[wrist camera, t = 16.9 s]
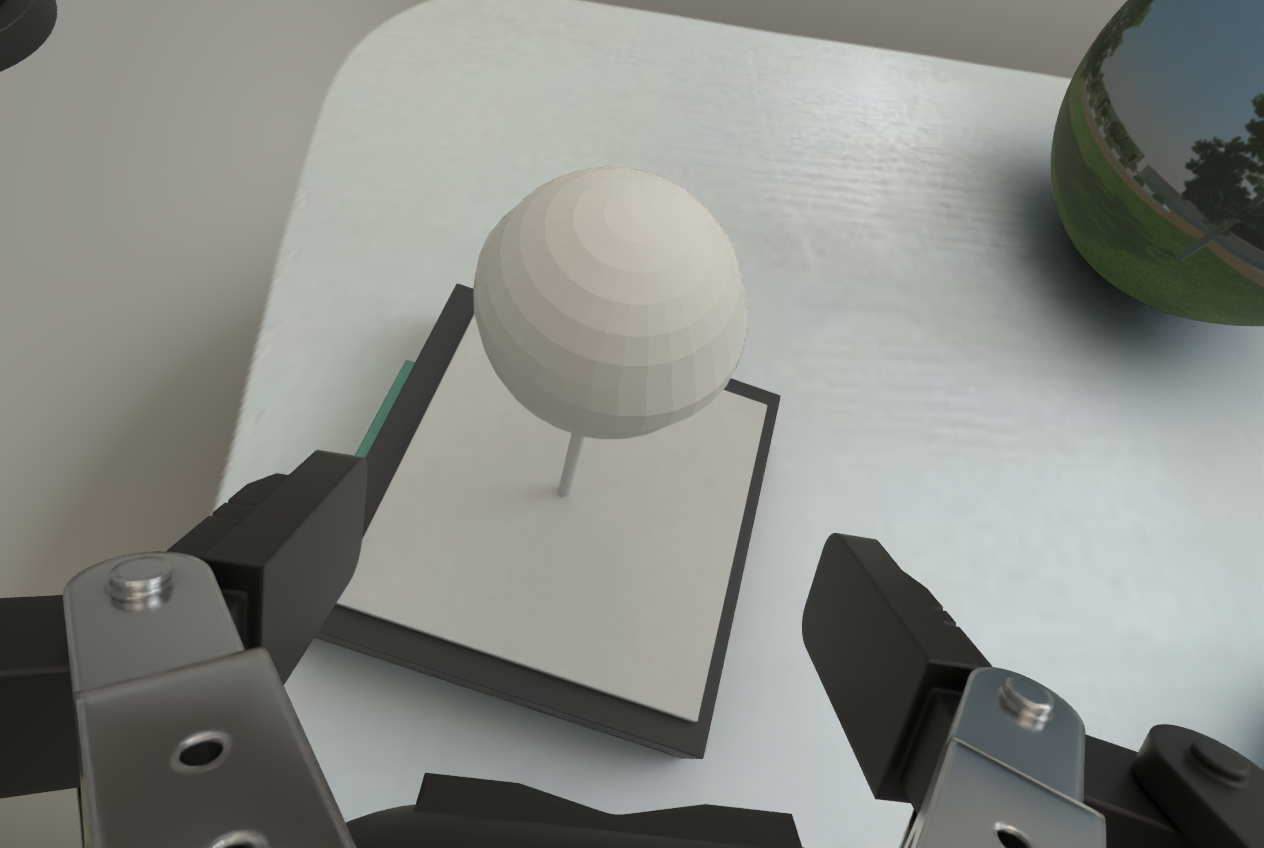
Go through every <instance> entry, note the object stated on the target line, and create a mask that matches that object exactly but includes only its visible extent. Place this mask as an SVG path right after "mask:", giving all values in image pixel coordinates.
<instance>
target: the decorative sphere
mask: <svg viewBox="0 0 1264 848" xmlns="http://www.w3.org/2000/svg"><path fill="white" fill-rule="evenodd" d="M1051 180H1052V188H1053V194H1054V199H1055V203H1056V207H1057V210H1058V213H1059V216H1060V219H1061V221H1062V224H1063V226H1064V228H1065V230H1066V232H1067V234H1068V236H1069V238H1070V239H1071V241H1072V243H1073V244H1074V246H1075V247H1076V249H1077V250H1078V252H1079V253H1080V254H1081V256H1082V257H1083V258H1084V259H1085V260H1086V262H1087V263H1088V264H1089V265H1090V266H1091V267H1092V268H1093V269H1094V270H1095V271H1096V272H1097V273H1098V274H1099V275H1101V276H1102V277H1103V278H1104V279H1105V280H1107V281H1108V282H1109V283H1110V284H1112V285H1113V286H1115V287H1116V288H1117V289H1119V290H1120V291H1122V292H1124V293H1125V294H1127V295H1129V296H1131V297H1132V298H1134V299H1136V300H1138V301H1140V302H1142V303H1144V304H1146V305H1149V306H1151V307H1154V308H1156V309H1159V310H1161V311H1164V312H1167V313H1170V314H1173V315H1177V316H1180V317H1184V318H1188V319H1193V320H1198V321H1203V322H1209V323H1216V324H1224V325H1237V326H1264V0H1128V1H1127V2H1126V3H1125V4H1124V5H1123V6H1122V7H1121V8H1120V9H1119V10H1118V12H1117V13H1116V14H1115V15H1114V16H1113V17H1112V18H1111V20H1110V21H1109V22H1108V23H1107V25H1106V26H1105V27H1104V28H1103V30H1102V31H1101V33H1100V34H1099V35H1098V37H1097V38H1096V39H1095V41H1094V42H1093V44H1092V45H1091V47H1090V48H1089V50H1088V51H1087V53H1086V55H1085V56H1084V58H1083V60H1082V61H1081V63H1080V65H1079V67H1078V68H1077V70H1076V72H1075V74H1074V77H1073V78H1072V80H1071V82H1070V85H1069V87H1068V89H1067V91H1066V94H1065V96H1064V99H1063V102H1062V105H1061V108H1060V111H1059V114H1058V118H1057V122H1056V126H1055V130H1054V136H1053V142H1052V151H1051Z"/></svg>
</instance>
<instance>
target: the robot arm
mask: <svg viewBox="0 0 1264 848" xmlns="http://www.w3.org/2000/svg"><path fill="white" fill-rule="evenodd" d="M3 2H4V0H0V5H1V4H2V3H3ZM366 485H367V461H366V459H365V458H364V457H359V456H353V455H346V454H340V453H334V452H327V451H321V450H317V451H315V452H314V453H313V454H312V455H310V456H309V457H308V458H307V459H306V460H305V461H304V462H303V463H302V464H300V465H299V466H298V467H297V468H296V469H295V470H294V471H293V472H292V473H291V474H289V475H285V474H278V473H276V474H273V475H271V476H268V477H265V478H263V479H260V480H257V481H255V482H252V483H249V484H247V485H246V486H244V487H243V488H242V489H241V490H240V491H238V492H237V493H236V494H235V495H234V496H232V497H231V498H230V499H229V501H228V503H224V504H223V505H221V506H220V507H219V508H218V509H217V510H215V511H214V512H213V515H212V516H208V517H207V518H206V519H205V520H204V521H202V522H201V523H200V524H198V525H197V526H196V527H195V528H194V529H192V530H191V531H190V532H189V533H188V534H186V535H185V536H184V537H183V538H181V539H180V540H179V541H178V542H177V543H175V544H174V545H173V546H172V547H171V548H170V549H168V550H167V551H166V552H160V551H157V552H141V553H134V554H128V555H122V556H118V557H115V558H111V559H108V560H105V561H102V562H99V563H97V564H95V565H92V566H90V567H88V568H86V569H85V570H83V571H81V572H80V573H78V574H77V575H76V576H74V577H73V578H72V579H71V580H70V581H69V582H68V583H67V585H66V586H65V588H64V592H63V595H56V596H37V597H17V598H16V597H15V598H0V798H7V797H14V796H21V795H27V794H35V793H42V792H49V791H56V790H63V789H70V788H77V800H78V810H79V820H80V830H81V841H82V848H803V847H802V845H801V842H800V839H799V836H798V832H797V829H796V826H795V823H794V820H793V816H792V814H788V813H779V812H770V811H761V810H752V809H743V808H734V807H726V806H717V805H708V804H704V805H696V806H688V807H680V808H672V809H664V810H656V811H648V812H640V813H632V814H624V815H615V814H609V813H605V812H602V811H599V810H596V809H593V808H590V807H587V806H584V805H581V804H578V803H575V802H572V801H570V800H567V799H564V798H561V797H558V796H555V795H552V794H549V793H546V792H543V791H540V790H537V789H534V788H531V787H529V786H526V785H523V784H520V783H512V782H503V781H494V780H485V779H476V778H467V777H459V776H450V775H441V774H432V773H425V775H424V778H423V782H422V785H421V789H420V792H419V795H418V799H417V802H416V805H408V806H401V807H396V808H392V809H387V810H383V811H378V812H375V813H372V814H369V815H366V816H363V817H360V818H357V819H354V820H351V821H348V822H346V823H345V821H344V819H343V817H342V814H341V812H340V810H339V808H338V805H337V803H336V801H335V799H334V797H333V794H332V792H331V790H330V788H329V786H328V783H327V781H326V779H325V777H324V774H323V772H322V770H321V768H320V766H319V763H318V761H317V759H316V757H315V754H314V752H313V750H312V748H311V746H310V743H309V741H308V739H307V737H306V734H305V732H304V730H303V728H302V726H301V723H300V721H299V719H298V717H297V714H296V712H295V710H294V708H293V706H292V703H291V701H290V699H289V697H288V695H287V692H286V690H285V688H284V684H285V682H286V681H287V679H288V678H289V676H290V675H291V673H292V672H293V670H294V668H295V667H296V665H297V664H298V662H299V661H300V659H301V657H302V656H303V654H304V653H305V651H306V650H307V648H308V647H309V645H310V643H311V642H312V640H313V639H314V637H315V636H316V634H317V633H318V631H319V629H320V628H321V626H322V625H323V623H324V622H325V620H326V618H327V617H328V615H329V614H330V612H331V611H332V609H333V608H334V606H335V604H336V603H337V601H338V600H339V598H340V597H341V595H342V594H343V592H344V590H345V589H346V587H347V586H348V584H349V583H350V581H351V579H352V577H353V575H354V572H355V570H356V567H357V564H358V560H359V556H360V551H361V545H362V534H363V522H364V510H365V497H366ZM802 635H803V641H804V644H805V647H806V649H807V651H808V653H809V656H810V658H811V660H812V662H813V664H814V667H815V669H816V671H817V673H818V675H819V677H820V680H821V682H822V684H823V686H824V688H825V690H826V693H827V695H828V697H829V699H830V701H831V704H832V706H833V708H834V710H835V712H836V714H837V717H838V719H839V721H840V723H841V725H842V728H843V730H844V732H845V734H846V736H847V738H848V741H849V743H850V745H851V747H852V749H853V752H854V754H855V756H856V758H857V760H858V762H859V765H860V767H861V769H862V771H863V773H864V776H865V778H866V780H867V782H868V784H869V786H870V789H871V791H872V793H873V795H874V797H875V799H880V800H888V801H897V802H906V803H911V804H912V806H913V808H914V810H913V812H912V815H911V817H910V820H909V822H908V824H907V827H906V829H905V832H904V835H903V837H902V840H901V843H900V846H899V848H1264V771H1263V770H1262V769H1260V768H1259V767H1258V766H1257V765H1255V764H1254V763H1252V762H1251V761H1250V760H1248V759H1247V758H1245V757H1244V756H1242V755H1241V754H1239V753H1238V752H1236V751H1234V750H1233V749H1231V748H1229V747H1228V746H1226V745H1224V744H1222V743H1220V742H1218V741H1216V740H1214V739H1212V738H1210V737H1208V736H1206V735H1203V734H1201V733H1198V732H1196V731H1193V730H1190V729H1187V728H1183V727H1179V726H1175V725H1167V724H1162V725H1156V726H1154V727H1152V728H1151V729H1150V731H1149V733H1148V735H1147V737H1146V739H1145V741H1144V743H1143V744H1142V746H1141V748H1140V750H1139V752H1136V751H1133V750H1130V749H1127V748H1124V747H1121V746H1118V745H1115V744H1112V743H1109V742H1106V741H1103V740H1100V739H1097V738H1094V737H1091V736H1088V735H1085V726H1084V724H1083V721H1082V719H1081V718H1080V716H1079V715H1078V713H1077V712H1076V711H1075V710H1074V709H1073V708H1072V707H1071V706H1070V705H1069V704H1068V703H1067V702H1066V701H1065V700H1064V699H1062V698H1061V697H1060V696H1058V695H1057V694H1056V693H1054V692H1053V691H1051V690H1050V689H1048V688H1047V687H1045V686H1043V685H1042V684H1040V683H1038V682H1036V681H1034V680H1032V679H1030V678H1028V677H1026V676H1023V675H1021V674H1018V673H1015V672H1012V671H1009V670H1005V669H1001V668H995V667H992V665H991V664H990V663H989V662H988V661H987V659H986V658H985V657H984V656H983V655H982V653H981V652H980V651H979V650H978V649H977V647H976V646H975V645H974V644H973V643H972V641H971V640H970V639H969V638H968V637H967V635H966V634H965V633H964V632H963V631H962V629H961V628H960V627H956V622H955V621H954V620H953V619H952V618H951V616H950V615H949V614H948V613H947V612H946V611H943V607H942V606H941V604H940V603H939V602H938V601H937V600H936V598H935V597H934V596H933V595H932V594H931V592H930V591H929V590H928V589H927V588H926V587H924V586H923V585H922V584H920V583H919V582H918V581H916V580H915V579H913V578H912V577H911V576H909V575H908V574H907V573H905V572H904V571H902V570H901V568H900V567H899V566H898V565H897V563H896V562H895V561H894V560H893V559H892V557H891V556H890V555H889V554H888V552H887V551H886V550H885V549H884V547H883V546H882V545H881V544H880V542H878V541H877V540H876V539H870V538H864V537H858V536H851V535H845V534H839V533H833V534H831V535H830V536H829V537H828V539H827V540H826V543H825V545H824V548H823V551H822V554H821V557H820V560H819V563H818V567H817V570H816V573H815V576H814V579H813V582H812V586H811V589H810V592H809V595H808V598H807V602H806V605H805V608H804V612H803V619H802Z"/></svg>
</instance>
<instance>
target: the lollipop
mask: <svg viewBox="0 0 1264 848" xmlns="http://www.w3.org/2000/svg"><path fill="white" fill-rule="evenodd" d="M473 295H474V315H475V319H476V322H477V326H478V330H479V333H480V337H481V340H482V343H483V346H484V350H485V353H486V355H487V357H488V359H489V361H490V363H491V365H492V367H493V369H494V371H495V373H496V374H497V376H498V377H499V378H500V380H501V381H502V382H503V384H504V385H505V386H506V387H507V389H508V390H509V391H510V392H511V394H512V395H513V396H514V398H515V399H516V400H517V401H518V402H519V403H520V404H522V405H523V406H524V407H525V408H526V409H528V410H529V411H530V412H531V413H532V414H533V415H535V416H536V417H538V418H540V419H542V420H543V421H545V422H547V423H549V424H550V425H552V426H554V427H556V428H559V429H561V430H564V431H567V432H570V433H571V437H570V442H569V446H568V450H567V454H566V459H565V463H564V467H563V471H562V476H561V480H560V484H559V489H558V493H559V495H560V496H562V497H566V496H568V495H569V494H570V491H571V487H572V484H573V480H574V477H575V473H576V469H577V466H578V462H579V459H580V455H581V452H582V448H583V445H584V441H585V438H586V437H591V438H597V439H628V438H633V437H638V436H643V435H647V434H650V433H653V432H655V431H657V430H660V429H662V428H665V427H667V426H670V425H672V424H674V423H677V422H679V421H682V420H684V419H687V418H689V417H692V416H693V415H695V414H696V413H698V412H699V411H700V410H702V409H703V408H705V407H706V406H708V405H709V404H710V403H712V402H713V401H714V399H715V398H716V397H717V396H718V395H719V394H720V393H721V392H722V390H723V389H724V388H725V387H726V386H727V384H728V382H729V380H730V378H731V376H732V374H733V373H734V371H735V369H736V367H737V364H738V362H739V359H740V357H741V354H742V352H743V348H744V344H745V339H746V335H747V331H748V327H747V303H746V296H745V290H744V285H743V280H742V275H741V270H740V267H739V263H738V260H737V256H736V254H735V252H734V249H733V247H732V245H731V242H730V240H729V238H728V236H727V235H726V233H725V232H724V230H723V229H722V227H721V226H720V224H719V223H718V222H717V220H716V219H715V218H714V217H713V215H712V214H711V213H710V212H709V211H708V210H707V209H706V208H705V207H704V206H703V205H702V204H701V203H700V201H699V200H698V199H696V198H695V197H694V196H692V195H691V194H690V193H688V192H687V191H686V190H684V189H683V188H682V187H680V186H678V185H676V184H674V183H672V182H671V181H669V180H667V179H665V178H662V177H660V176H657V175H654V174H651V173H649V172H645V171H641V170H636V169H631V168H624V167H598V168H588V169H584V170H581V171H577V172H573V173H570V174H567V175H564V176H561V177H559V178H557V179H554V180H552V181H550V182H548V183H546V184H544V185H542V186H540V187H539V188H538V189H536V190H535V191H533V192H532V193H531V194H529V195H528V196H527V197H525V198H524V199H523V200H522V201H521V202H520V203H519V204H518V205H517V206H516V207H515V208H514V209H512V210H511V211H510V212H509V213H508V214H507V215H505V216H504V217H503V218H502V219H501V221H500V222H499V223H498V224H497V225H496V227H495V228H494V229H493V230H492V231H491V232H490V234H489V236H488V238H487V240H486V242H485V244H484V246H483V248H482V250H481V252H480V255H479V260H478V264H477V269H476V274H475V281H474V289H473Z"/></svg>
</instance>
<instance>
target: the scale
mask: <svg viewBox="0 0 1264 848" xmlns="http://www.w3.org/2000/svg"><path fill="white" fill-rule="evenodd" d="M779 401H780V395H777V394H774V393H771V392H768V391H766V390H763V389H760V388H757V387H754V386H751V385H748V384H745V383H743V382H740V381H737V380H734V379H731V378H730V380H729V382H728V384H727V386H726V387H725V388H724V389H723V390H722V392H721V393H720V394H719V395H718V396H717V397H716V398H715V399H714V401H713V402H712V403H710V404H709V405H708V406H706V407H705V408H703V409H702V410H700V411H699V412H698V413H696V414H695V415H693V416H692V417H689V418H687V419H684V420H682V421H679V422H677V423H674V424H672V425H670V426H667V427H665V428H662V429H660V430H657V431H655V432H653V433H650V434H647V435H643V436H638V437H633V438H628V439H597V438H591V437H586V438H585V441H584V445H583V448H582V452H581V455H580V459H579V462H578V466H577V469H576V473H575V477H574V480H573V484H572V487H571V491H570V494H569V495H568V496H566V497H562V496H560V495H559V493H558V489H559V484H560V480H561V476H562V471H563V467H564V463H565V459H566V454H567V450H568V446H569V442H570V437H571V433H570V432H567V431H564V430H561V429H559V428H556V427H554V426H552V425H550V424H549V423H547V422H545V421H543V420H542V419H540V418H538V417H536V416H535V415H533V414H532V413H531V412H530V411H529V410H528V409H526V408H525V407H524V406H523V405H522V404H520V403H519V402H518V401H517V400H516V399H515V398H514V396H513V395H512V394H511V392H510V391H509V390H508V389H507V387H506V386H505V385H504V384H503V382H502V381H501V380H500V378H499V377H498V376H497V374H496V373H495V371H494V369H493V367H492V365H491V363H490V361H489V359H488V357H487V355H486V353H485V350H484V346H483V343H482V340H481V337H480V333H479V330H478V326H477V322H476V319H475V315H474V295H473V289H472V288H469V287H466V286H463V285H460V284H456V286H455V288H454V290H453V292H452V294H451V296H450V298H449V299H448V301H447V303H446V305H445V307H444V309H443V311H442V313H441V315H440V317H439V319H438V320H437V322H436V324H435V326H434V328H433V330H432V332H431V334H430V336H429V338H428V339H427V341H426V343H425V345H424V347H423V349H422V351H421V353H420V355H419V357H418V359H417V360H416V362H415V363H414V362H411V361H408V360H406V361H405V363H404V365H403V367H402V369H401V370H400V372H399V374H398V376H397V378H396V380H395V382H394V383H393V385H392V387H391V389H390V391H389V393H388V395H387V397H386V398H385V400H384V402H383V404H382V406H381V408H380V410H379V412H378V413H377V415H376V417H375V419H374V421H373V423H372V425H371V427H370V428H369V430H368V432H367V434H366V436H365V438H364V440H363V442H362V443H361V445H360V447H359V449H358V451H357V453H356V455H355V456H359V457H364V458H365V459H366V461H367V485H366V497H365V510H364V522H363V534H362V545H361V551H360V556H359V560H358V564H357V567H356V570H355V572H354V575H353V577H352V579H351V581H350V583H349V584H348V586H347V587H346V589H345V590H344V592H343V594H342V595H341V597H340V598H339V600H338V601H337V603H336V604H335V606H334V608H333V609H332V611H331V612H330V614H329V615H328V617H327V618H326V620H325V622H324V623H323V625H322V626H321V628H320V629H319V631H318V633H317V634H316V636H315V638H318V639H321V640H324V641H327V642H330V643H333V644H336V645H339V646H342V647H345V648H348V649H351V650H354V651H357V652H360V653H363V654H366V655H369V656H373V657H376V658H379V659H382V660H385V661H388V662H391V663H394V664H397V665H400V666H403V667H406V668H409V669H412V670H415V671H418V672H421V673H424V674H427V675H430V676H433V677H436V678H439V679H442V680H445V681H448V682H451V683H454V684H457V685H461V686H464V687H467V688H470V689H473V690H476V691H479V692H482V693H485V694H488V695H491V696H494V697H497V698H500V699H503V700H506V701H509V702H512V703H515V704H518V705H521V706H524V707H527V708H530V709H533V710H536V711H539V712H542V713H546V714H549V715H552V716H555V717H558V718H561V719H564V720H567V721H570V722H573V723H576V724H579V725H582V726H585V727H588V728H591V729H594V730H597V731H600V732H603V733H606V734H609V735H612V736H615V737H618V738H621V739H624V740H627V741H631V742H634V743H637V744H640V745H643V746H646V747H649V748H652V749H655V750H658V751H661V752H664V753H667V754H670V755H673V756H676V757H679V758H689V759H703V758H704V753H705V748H706V744H707V739H708V734H709V730H710V725H711V720H712V715H713V711H714V706H715V701H716V697H717V692H718V687H719V683H720V678H721V673H722V669H723V664H724V659H725V654H726V650H727V645H728V640H729V636H730V631H731V626H732V622H733V617H734V612H735V608H736V603H737V598H738V594H739V589H740V584H741V579H742V575H743V570H744V565H745V561H746V556H747V551H748V547H749V542H750V537H751V533H752V528H753V523H754V519H755V514H756V509H757V504H758V500H759V495H760V490H761V486H762V481H763V476H764V472H765V467H766V462H767V458H768V453H769V448H770V444H771V439H772V434H773V429H774V425H775V420H776V415H777V411H778V406H779Z"/></svg>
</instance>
